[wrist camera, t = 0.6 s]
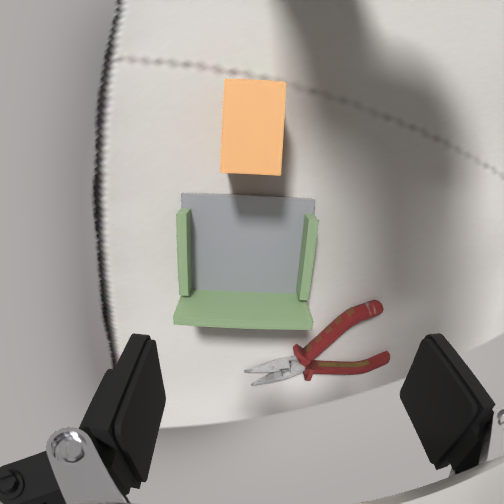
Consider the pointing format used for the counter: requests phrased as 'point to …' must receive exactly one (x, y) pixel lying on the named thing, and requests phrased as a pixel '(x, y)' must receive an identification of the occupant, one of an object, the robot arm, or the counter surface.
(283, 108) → the chute block
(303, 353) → the pliers
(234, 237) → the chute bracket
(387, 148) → the counter surface
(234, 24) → the counter surface
